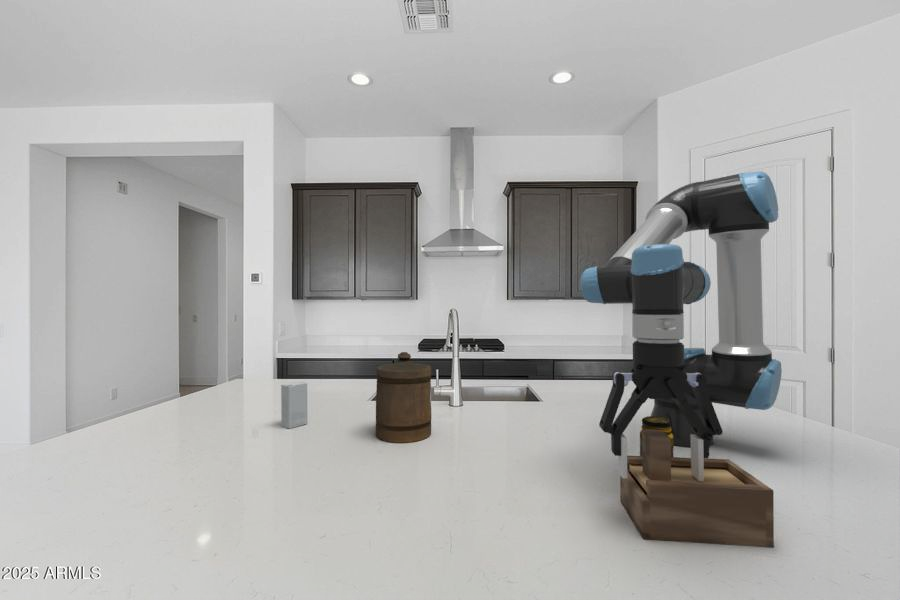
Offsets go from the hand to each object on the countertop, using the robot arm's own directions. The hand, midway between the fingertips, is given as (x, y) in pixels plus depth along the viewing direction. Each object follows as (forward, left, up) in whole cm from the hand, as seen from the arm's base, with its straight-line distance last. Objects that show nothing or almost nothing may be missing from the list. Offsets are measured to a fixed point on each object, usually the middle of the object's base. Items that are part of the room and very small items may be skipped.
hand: (659, 476), depth 68 cm
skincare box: (-43, -84, -7) cm, 95 cm away
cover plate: (0, +5, -1) cm, 5 cm away
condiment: (-17, +5, -7) cm, 19 cm away
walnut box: (0, +5, -7) cm, 8 cm away
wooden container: (-39, -51, -7) cm, 65 cm away
